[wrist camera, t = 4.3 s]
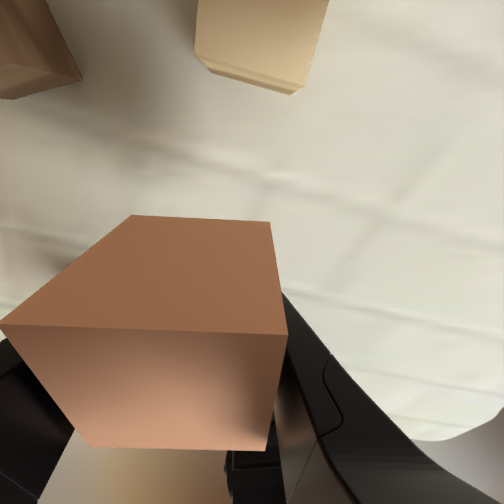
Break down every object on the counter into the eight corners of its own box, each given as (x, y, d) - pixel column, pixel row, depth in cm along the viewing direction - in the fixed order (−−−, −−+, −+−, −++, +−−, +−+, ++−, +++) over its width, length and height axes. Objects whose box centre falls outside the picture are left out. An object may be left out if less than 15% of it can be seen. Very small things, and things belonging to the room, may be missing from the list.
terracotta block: (259, 318, 11) (265, 451, 7) (154, 314, 11) (89, 446, 6) (269, 221, 8) (288, 335, 4) (131, 215, 8) (-4, 324, 4)
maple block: (289, 95, 15) (304, 86, 10) (211, 72, 14) (193, 52, 10) (318, -16, 12) (354, -90, 8) (225, -48, 12) (209, -148, 7)
